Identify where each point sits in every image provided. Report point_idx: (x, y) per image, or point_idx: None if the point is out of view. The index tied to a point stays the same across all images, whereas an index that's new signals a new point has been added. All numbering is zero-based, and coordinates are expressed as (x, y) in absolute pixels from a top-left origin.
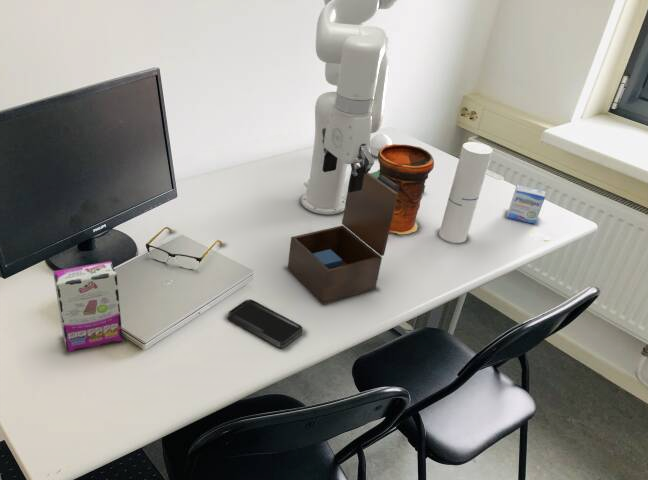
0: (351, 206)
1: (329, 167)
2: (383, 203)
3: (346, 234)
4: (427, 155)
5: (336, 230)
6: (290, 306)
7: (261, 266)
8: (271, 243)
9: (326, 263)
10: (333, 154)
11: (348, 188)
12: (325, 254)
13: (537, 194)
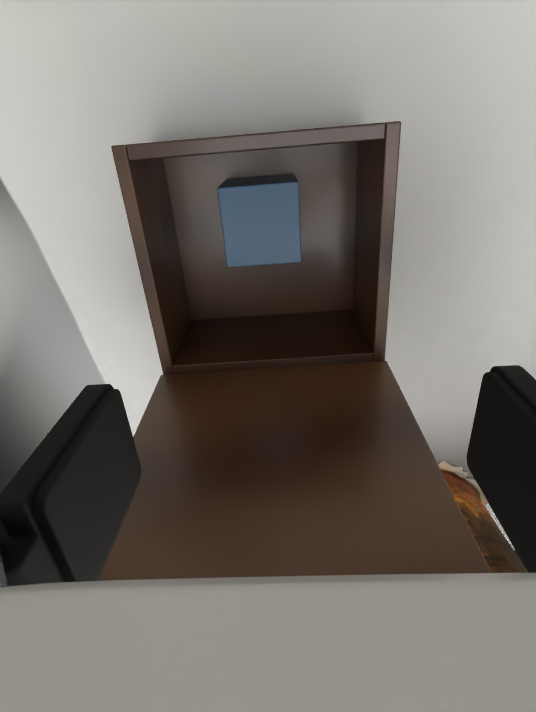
0: (368, 415)
1: (494, 431)
2: (162, 511)
3: (340, 349)
4: None
5: (373, 330)
6: (165, 16)
7: (421, 27)
8: (525, 145)
9: (220, 199)
10: (365, 589)
11: (94, 395)
12: (276, 227)
13: None
